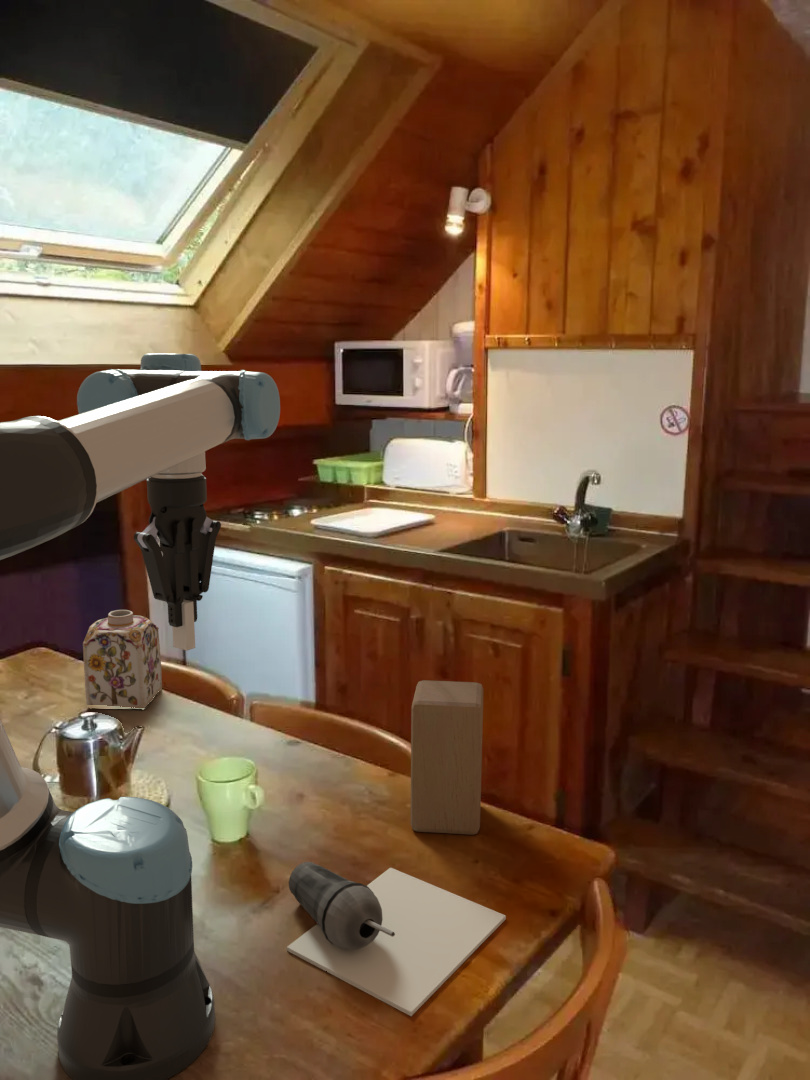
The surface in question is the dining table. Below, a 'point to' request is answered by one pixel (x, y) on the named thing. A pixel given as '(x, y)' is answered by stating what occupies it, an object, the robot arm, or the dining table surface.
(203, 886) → the dining table surface
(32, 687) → the dining table surface
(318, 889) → the tumbler with straw
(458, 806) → the block
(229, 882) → the dining table surface
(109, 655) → the decorative jar
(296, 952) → the mat
